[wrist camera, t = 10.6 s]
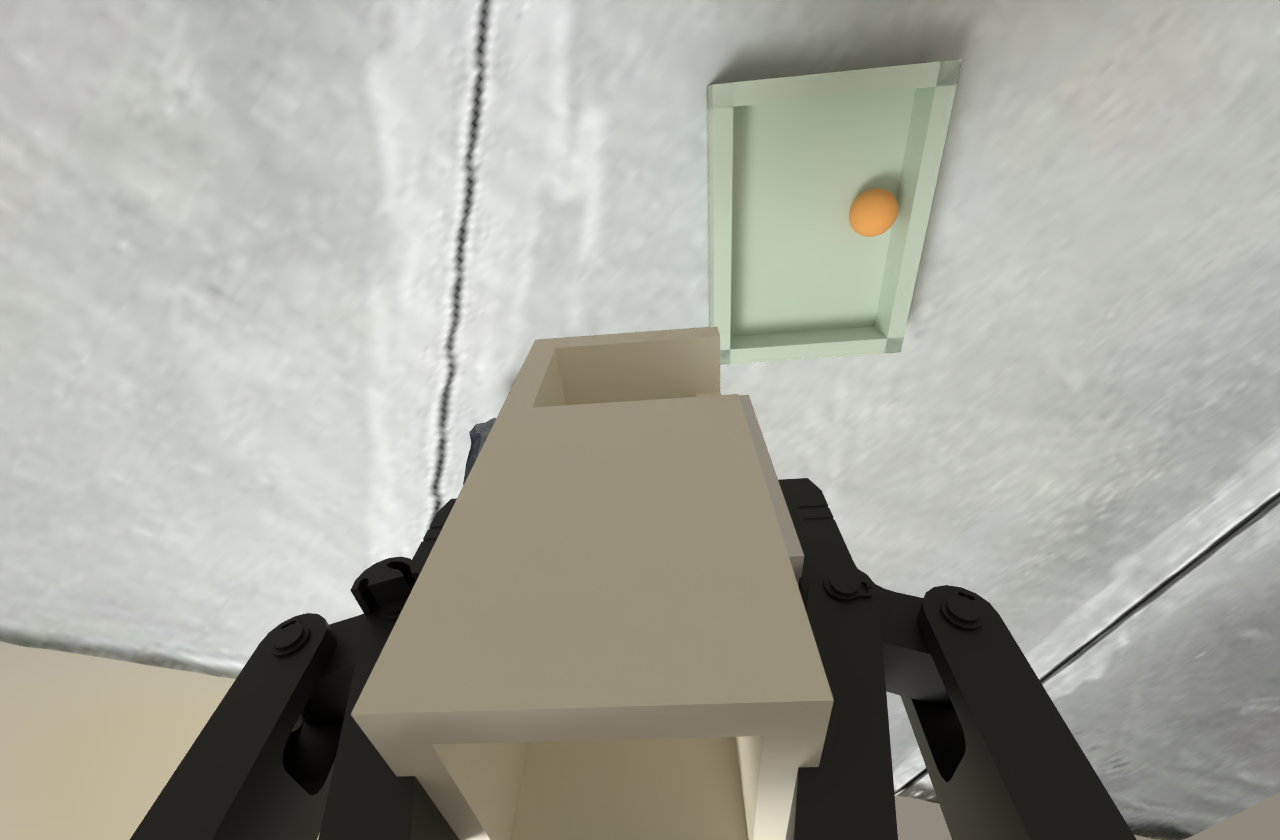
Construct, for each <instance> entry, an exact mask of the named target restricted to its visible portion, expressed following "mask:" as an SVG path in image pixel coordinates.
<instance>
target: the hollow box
mask: <svg viewBox="0 0 1280 840" xmlns="http://www.w3.org/2000/svg"><path fill="white" fill-rule="evenodd" d="M833 701H834V700H833V696H832V693H831V690H830V687H829V684H828V680H827V677H826V674H825V671H824V668H823V664H822V661H821V658H820V655H819V652H818V648H817V645H816V642H815V639H814V635H813V632H812V629H811V626H810V623H809V619H808V616H807V613H806V610H805V607H804V603H803V600H802V597H801V594H800V591H799V587H798V584H797V581H796V578H795V574H794V571H793V568H792V565H791V562H790V558H789V555H788V552H787V549H786V546H785V542H784V539H783V536H782V533H781V530H780V526H779V523H778V520H777V517H776V514H775V510H774V507H773V504H772V501H771V497H770V494H769V491H768V488H767V485H766V481H765V478H764V475H763V472H762V469H761V465H760V462H759V459H758V456H757V453H756V449H755V446H754V443H753V440H752V437H751V433H750V430H749V427H748V424H747V420H746V417H745V414H744V411H743V408H742V404H741V401H740V398H739V395H738V394H732V395H721V394H720V334H719V331H718V327H717V326H716V327H703V328H689V329H676V330H662V331H648V332H635V333H621V334H607V335H594V336H580V337H566V338H553V339H539V340H535V342H534V344H533V346H532V348H531V350H530V352H529V354H528V356H527V358H526V360H525V362H524V364H523V366H522V368H521V370H520V372H519V374H518V376H517V378H516V380H515V382H514V384H513V386H512V388H511V390H510V392H509V394H508V396H507V398H506V400H505V402H504V404H503V406H502V408H501V411H500V413H499V415H498V417H497V419H496V421H495V423H494V425H493V427H492V429H491V431H490V433H489V435H488V437H487V439H486V441H485V443H484V445H483V447H482V449H481V451H480V453H479V455H478V457H477V459H476V461H475V463H474V465H473V467H472V469H471V471H470V473H469V475H468V477H467V479H466V482H465V484H464V486H463V488H462V490H461V492H460V494H459V496H458V498H457V500H456V502H455V504H454V506H453V508H452V510H451V512H450V514H449V516H448V518H447V520H446V522H445V524H444V526H443V528H442V530H441V532H440V534H439V536H438V538H437V540H436V542H435V544H434V546H433V548H432V550H431V553H430V555H429V557H428V559H427V561H426V563H425V565H424V567H423V569H422V571H421V573H420V575H419V577H418V579H417V581H416V583H415V585H414V587H413V589H412V591H411V593H410V595H409V597H408V599H407V601H406V603H405V605H404V607H403V609H402V611H401V613H400V615H399V617H398V619H397V621H396V624H395V626H394V628H393V630H392V632H391V634H390V636H389V638H388V640H387V642H386V644H385V646H384V648H383V650H382V652H381V654H380V656H379V658H378V660H377V662H376V664H375V666H374V668H373V670H372V672H371V674H370V676H369V678H368V680H367V682H366V684H365V686H364V688H363V690H362V692H361V695H360V697H359V699H358V701H357V703H356V705H355V707H354V709H353V711H352V713H351V716H352V717H353V718H354V720H355V721H356V722H357V724H358V725H359V726H360V728H361V729H362V730H363V732H364V733H365V734H366V736H367V737H368V738H369V740H370V741H371V743H372V744H373V745H374V747H375V748H376V749H377V751H378V752H379V753H380V755H381V756H382V757H383V759H384V760H385V761H386V763H387V764H388V765H389V767H390V768H391V769H392V771H393V772H394V773H395V775H396V776H415V777H416V778H417V779H418V781H419V782H420V784H421V785H422V787H423V788H424V789H425V791H426V792H427V794H428V795H429V797H430V798H431V799H432V801H433V802H434V804H435V805H436V807H437V808H438V809H439V811H440V812H441V814H442V815H443V817H444V818H445V819H446V821H447V822H448V824H449V825H450V827H451V828H452V829H453V831H454V832H455V834H456V835H457V837H458V838H459V839H460V840H786V833H787V828H788V822H789V817H790V811H791V805H792V800H793V794H794V789H795V783H796V778H797V772H798V767H819V763H820V759H821V754H822V750H823V746H824V741H825V737H826V732H827V728H828V724H829V719H830V715H831V710H832V706H833Z"/></svg>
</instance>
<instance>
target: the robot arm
mask: <svg viewBox="0 0 1280 840" xmlns="http://www.w3.org/2000/svg"><path fill="white" fill-rule="evenodd" d="M739 398H740V401H741V404H742V408H743V411H744V414H745V417H746V420H747V424H748V427H749V430H750V433H751V437H752V440H753V443H754V446H755V449H756V453H757V456H758V459H759V462H760V465H761V469H762V472H763V475H764V478H765V481H766V485H767V488H768V491H769V494H770V497H771V501H772V504H773V507H774V510H775V514H776V517H777V520H778V523H779V526H780V530H781V533H782V536H783V539H784V542H785V546H786V549H787V552H788V555H789V558H790V562H791V565H792V568H793V571H794V574H795V578H796V581H797V584H798V587H799V591H800V594H801V597H802V600H803V603H804V607H805V610H806V613H807V616H808V619H809V623H810V626H811V629H812V632H813V635H814V639H815V642H816V645H817V648H818V652H819V655H820V658H821V661H822V664H823V668H824V671H825V674H826V677H827V680H828V684H829V687H830V690H831V693H832V696H833V700H834V701H833V706H832V710H831V715H830V719H829V724H828V728H827V732H826V737H825V741H824V746H823V750H822V754H821V759H820V763H819V767H798V772H797V778H796V783H795V789H794V794H793V800H792V805H791V811H790V817H789V822H788V828H787V833H786V840H898V834H897V823H896V810H895V797H894V784H893V772H892V759H891V747H890V734H889V722H888V709H887V697H886V691H887V692H891V693H894V694H898V695H901V698H902V701H903V704H904V706H905V709H906V712H907V715H908V717H909V720H910V723H911V726H912V729H913V731H914V734H915V737H916V740H917V743H918V745H919V748H920V751H921V754H922V756H923V759H924V762H925V765H926V768H927V770H928V773H929V776H930V779H931V782H932V784H933V787H934V790H935V793H936V795H937V798H938V801H939V804H940V807H941V809H942V812H943V815H944V817H945V821H946V823H947V826H948V829H949V832H950V834H951V837H952V840H1136V838H1135V836H1134V835H1133V833H1132V832H1131V830H1130V828H1129V827H1128V825H1127V823H1126V822H1125V820H1124V818H1123V817H1122V815H1121V813H1120V812H1119V810H1118V809H1117V807H1116V805H1115V804H1114V802H1113V800H1112V799H1111V797H1110V795H1109V794H1108V792H1107V791H1106V789H1105V787H1104V786H1103V784H1102V782H1101V781H1100V779H1099V777H1098V776H1097V774H1096V772H1095V771H1094V769H1093V768H1092V766H1091V764H1090V763H1089V761H1088V759H1087V758H1086V756H1085V754H1084V753H1083V751H1082V750H1081V748H1080V746H1079V745H1078V743H1077V741H1076V740H1075V738H1074V736H1073V735H1072V733H1071V731H1070V730H1069V728H1068V727H1067V725H1066V723H1065V722H1064V720H1063V718H1062V717H1061V715H1060V713H1059V712H1058V710H1057V709H1056V707H1055V705H1054V704H1053V702H1052V700H1051V699H1050V697H1049V695H1048V694H1047V692H1046V690H1045V689H1044V687H1043V686H1042V684H1041V682H1040V681H1039V679H1038V677H1037V676H1036V674H1035V672H1034V671H1033V669H1032V668H1031V666H1030V664H1029V663H1028V661H1027V659H1026V658H1025V656H1024V654H1023V653H1022V651H1021V649H1020V648H1019V646H1018V645H1017V643H1016V641H1015V640H1014V638H1013V636H1012V635H1011V633H1010V631H1009V630H1008V628H1007V627H1006V625H1005V623H1004V622H1003V620H1002V618H1001V617H1000V615H999V614H998V612H997V611H996V610H995V609H994V608H993V607H992V605H991V604H990V603H989V602H987V601H986V600H985V599H983V598H982V597H980V596H979V595H977V594H976V593H973V592H971V591H969V590H966V589H964V588H961V587H955V586H948V585H945V586H938V587H934V588H932V589H931V590H929V591H928V592H926V594H925V596H924V598H920V597H915V596H911V595H906V594H901V593H897V592H893V591H890V590H887V589H884V588H882V587H880V586H878V585H876V584H874V582H873V581H872V580H871V579H870V578H869V577H868V575H867V574H865V573H864V572H862V571H860V570H859V569H857V567H856V566H855V564H854V562H853V560H852V557H851V555H850V553H849V551H848V549H847V546H846V544H845V542H844V540H843V537H842V535H841V533H840V531H839V529H838V526H837V524H836V522H835V520H834V519H833V515H832V513H831V511H830V509H829V508H828V504H827V502H826V500H825V497H824V495H823V493H822V491H821V490H820V489H819V488H818V487H817V486H816V485H815V484H814V483H813V482H811V481H810V480H809V479H808V478H802V479H784V480H778V479H777V476H776V473H775V470H774V467H773V464H772V461H771V458H770V455H769V453H768V450H767V447H766V444H765V441H764V438H763V435H762V432H761V429H760V426H759V424H758V421H757V418H756V415H755V412H754V409H753V406H752V403H751V400H750V398H749V395H739ZM456 500H457V499H451V500H450V501H449V502H448V503H446V504H445V505H444V506H443V507H442V508H441V509H440V510H439V511H438V512H437V514H436V516H435V517H434V519H433V521H432V523H431V525H430V530H428V531H427V533H426V535H425V536H424V538H423V542H421V544H420V546H419V548H418V550H417V552H416V554H415V555H414V557H413V559H412V560H411V559H410V558H405V557H394V558H388V559H385V560H383V561H380V562H378V563H376V564H374V565H373V566H371V567H369V568H368V569H366V570H365V571H364V572H363V573H362V574H361V575H360V576H359V577H358V578H357V579H356V580H355V582H354V584H353V586H352V588H351V592H352V594H353V595H354V597H355V599H356V600H357V602H358V604H359V605H360V607H361V609H362V610H363V612H364V614H362V615H359V616H356V617H353V618H349V619H346V620H343V621H340V622H336V623H333V624H330V625H329V624H328V623H327V621H326V620H325V619H324V618H323V617H322V616H320V615H319V614H312V613H307V614H303V615H298V616H295V617H293V618H291V619H289V620H287V621H285V622H283V623H281V624H280V625H278V626H277V627H276V628H274V629H273V630H272V631H271V632H269V633H268V634H267V636H266V637H265V638H264V639H263V640H262V641H261V643H260V644H259V645H258V647H257V648H256V650H255V651H254V653H253V654H252V656H251V657H250V659H249V660H248V662H247V663H246V665H245V666H244V668H243V669H242V671H241V672H240V674H239V676H238V677H237V679H236V680H235V682H234V683H233V685H232V686H231V688H230V689H229V691H228V692H227V694H226V695H225V697H224V698H223V700H222V701H221V703H220V704H219V706H218V707H217V709H216V710H215V712H214V713H213V715H212V716H211V718H210V719H209V721H208V722H207V724H206V725H205V727H204V728H203V730H202V731H201V733H200V734H199V736H198V737H197V739H196V740H195V742H194V744H193V745H192V747H191V749H189V751H188V753H187V754H186V756H185V757H184V759H183V760H182V762H181V763H180V765H179V766H178V768H177V769H176V771H175V772H174V774H173V775H172V777H171V778H170V780H169V781H168V783H167V785H166V786H165V787H164V789H163V790H162V792H161V793H160V795H159V796H158V798H157V799H156V801H155V802H154V804H153V805H152V807H151V809H150V810H149V811H148V813H147V814H146V816H145V817H144V819H143V821H142V822H141V824H140V825H139V826H138V828H137V830H136V831H135V833H134V834H133V836H132V837H131V839H130V840H317V837H318V835H319V839H318V840H460V839H459V838H458V837H457V835H456V834H455V832H454V831H453V829H452V828H451V827H450V825H449V824H448V822H447V821H446V819H445V818H444V817H443V815H442V814H441V812H440V811H439V809H438V808H437V807H436V805H435V804H434V802H433V801H432V799H431V798H430V797H429V795H428V794H427V792H426V791H425V789H424V788H423V787H422V785H421V784H420V782H419V781H418V779H417V778H416V777H415V776H396V775H395V773H394V772H393V771H392V769H391V768H390V767H389V765H388V764H387V763H386V761H385V760H384V759H383V757H382V756H381V755H380V753H379V752H378V751H377V749H376V748H375V747H374V745H373V744H372V743H371V741H370V740H369V738H368V737H367V736H366V734H365V733H364V732H363V730H362V729H361V728H360V726H359V725H358V724H357V722H356V721H355V720H354V718H353V717H352V716H351V713H352V711H353V709H354V707H355V705H356V703H357V701H358V699H359V697H360V695H361V692H362V690H363V688H364V686H365V684H366V682H367V680H368V678H369V676H370V674H371V672H372V670H373V668H374V666H375V664H376V662H377V660H378V658H379V656H380V654H381V652H382V650H383V648H384V646H385V644H386V642H387V640H388V638H389V636H390V634H391V632H392V630H393V628H394V626H395V624H396V621H397V619H398V617H399V615H400V613H401V611H402V609H403V607H404V605H405V603H406V601H407V599H408V597H409V595H410V593H411V591H412V589H413V587H414V585H415V583H416V581H417V579H418V577H419V575H420V573H421V571H422V569H423V567H424V565H425V563H426V561H427V559H428V557H429V555H430V553H431V550H432V548H433V546H434V544H435V542H436V540H437V538H438V536H439V534H440V532H441V530H442V528H443V526H444V524H445V522H446V520H447V518H448V516H449V514H450V512H451V510H452V508H453V506H454V504H455V502H456ZM319 833H320V834H319Z"/></svg>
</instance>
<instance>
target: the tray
mask: <svg viewBox="0 0 1280 840" xmlns="http://www.w3.org/2000/svg"><path fill="white" fill-rule="evenodd" d="M961 64H962V59H958V60H948V61H938V62H928V63H918V64H909V65H899V66H889V67H879V68H869V69H860V70H850V71H840V72H830V73H820V74H810V75H801V76H791V77H781V78H771V79H761V80H751V81H742V82H732V83H722V84H713V85H710V86H708V87H707V145H708V238H709V327H716V326H717V327H718V331H719V334H720V365H722V364H736V363H751V362H765V361H780V360H794V359H809V358H823V357H838V356H852V355H867V354H881V353H896V352H901V348H902V343H903V339H904V334H905V329H906V324H907V320H908V315H909V310H910V305H911V301H912V296H913V291H914V286H915V282H916V277H917V272H918V267H919V263H920V258H921V253H922V249H923V244H924V239H925V234H926V230H927V225H928V220H929V215H930V211H931V206H932V201H933V196H934V192H935V187H936V182H937V177H938V173H939V168H940V163H941V159H942V154H943V149H944V144H945V140H946V135H947V130H948V125H949V121H950V116H951V111H952V106H953V102H954V97H955V92H956V87H957V83H958V78H959V73H960V69H961ZM875 188H880V189H885V190H887V191H889V192H890V193H892V194H893V195H894V197H895V198H896V200H897V203H898V214H897V218H896V220H895V222H894V223H893V225H892V226H891V227H890V228H889V229H888V230H887V231H886V232H884V233H882V234H880V235H878V236H874V237H866V236H861V235H859V234H858V233H856V232H855V231H854V230H853V229H852V227H851V225H850V222H849V211H850V208H851V205H852V203H853V202H854V200H855V199H856V198H857V197H858V196H859V195H860V194H862V193H863V192H865V191H867V190H870V189H875Z"/></svg>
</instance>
